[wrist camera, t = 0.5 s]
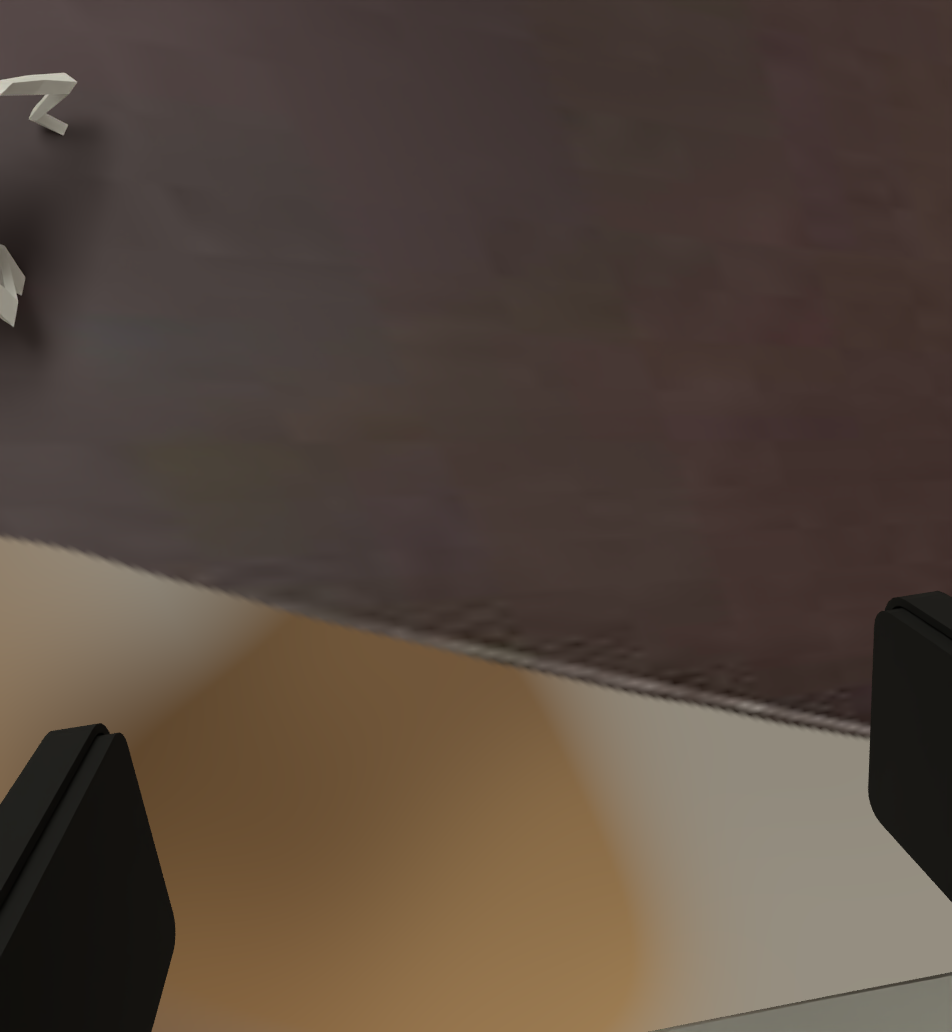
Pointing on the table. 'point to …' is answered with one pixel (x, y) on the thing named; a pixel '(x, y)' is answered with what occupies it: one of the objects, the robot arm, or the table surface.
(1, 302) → the origami figure
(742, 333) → the table surface
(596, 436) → the table surface
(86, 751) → the robot arm
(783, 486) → the table surface
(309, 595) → the table surface
